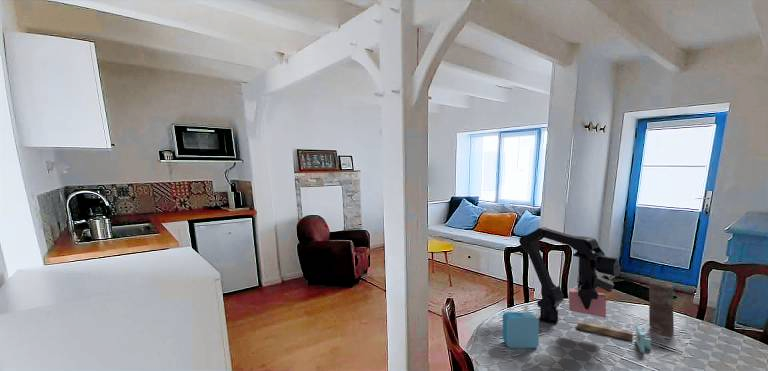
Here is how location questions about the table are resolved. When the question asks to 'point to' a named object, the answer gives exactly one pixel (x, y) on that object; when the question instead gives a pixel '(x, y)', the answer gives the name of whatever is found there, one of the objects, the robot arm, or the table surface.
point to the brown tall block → (661, 308)
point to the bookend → (642, 340)
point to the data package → (520, 330)
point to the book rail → (605, 330)
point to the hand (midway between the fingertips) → (586, 307)
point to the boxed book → (595, 307)
